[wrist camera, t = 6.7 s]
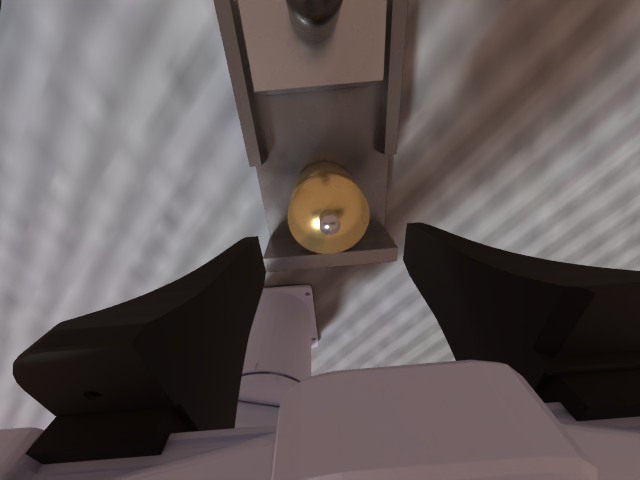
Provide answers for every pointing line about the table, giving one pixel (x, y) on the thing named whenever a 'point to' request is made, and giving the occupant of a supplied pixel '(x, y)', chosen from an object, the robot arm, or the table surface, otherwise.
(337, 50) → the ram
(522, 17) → the table surface
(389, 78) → the press frame
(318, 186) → the gold bell
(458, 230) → the table surface
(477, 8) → the table surface
